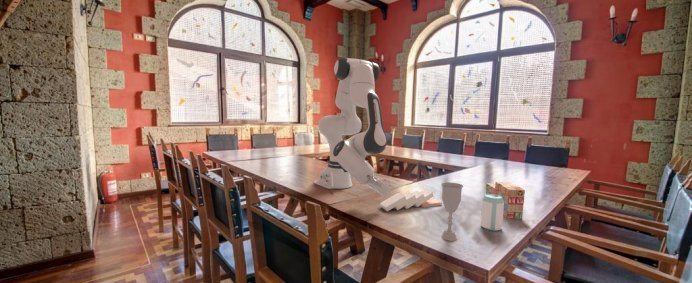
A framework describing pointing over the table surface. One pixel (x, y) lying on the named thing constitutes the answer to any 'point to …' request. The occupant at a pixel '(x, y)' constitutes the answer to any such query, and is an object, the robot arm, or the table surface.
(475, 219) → the table surface
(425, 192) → the domino
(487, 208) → the can
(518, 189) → the stack of blocks
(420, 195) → the domino
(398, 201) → the domino
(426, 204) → the domino
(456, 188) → the chalice
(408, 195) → the domino
